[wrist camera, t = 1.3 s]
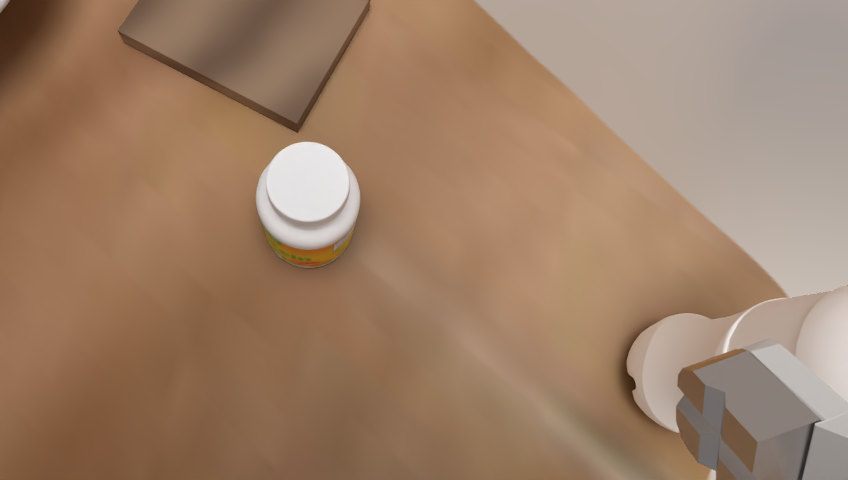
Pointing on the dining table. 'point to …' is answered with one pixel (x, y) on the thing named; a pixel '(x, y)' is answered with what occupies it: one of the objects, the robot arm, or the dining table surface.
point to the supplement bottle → (308, 204)
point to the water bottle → (740, 345)
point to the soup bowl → (3, 4)
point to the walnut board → (250, 47)
